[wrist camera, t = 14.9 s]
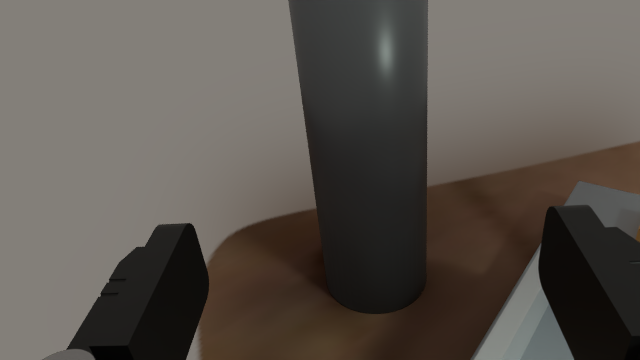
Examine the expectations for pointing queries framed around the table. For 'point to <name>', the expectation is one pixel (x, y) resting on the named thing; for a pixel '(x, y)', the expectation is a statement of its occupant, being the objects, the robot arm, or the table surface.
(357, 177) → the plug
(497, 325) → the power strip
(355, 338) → the table surface
